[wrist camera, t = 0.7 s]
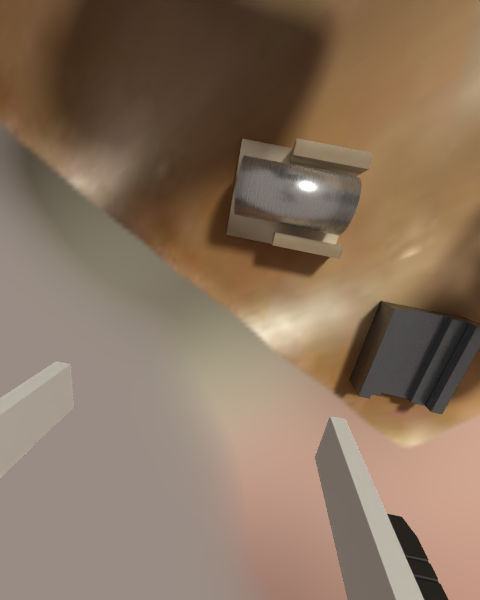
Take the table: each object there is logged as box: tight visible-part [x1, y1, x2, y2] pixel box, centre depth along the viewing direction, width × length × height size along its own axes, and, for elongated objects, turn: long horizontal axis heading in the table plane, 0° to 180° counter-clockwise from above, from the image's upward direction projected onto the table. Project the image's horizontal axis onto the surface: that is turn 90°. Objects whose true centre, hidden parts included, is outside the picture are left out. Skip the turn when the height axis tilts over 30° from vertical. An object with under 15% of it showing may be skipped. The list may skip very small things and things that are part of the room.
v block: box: [350, 301, 480, 414], centre depth 32 cm, size 13×12×4 cm
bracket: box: [226, 139, 374, 259], centre depth 27 cm, size 11×14×4 cm
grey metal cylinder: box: [234, 155, 361, 235], centre depth 26 cm, size 6×12×6 cm, turn 79°
